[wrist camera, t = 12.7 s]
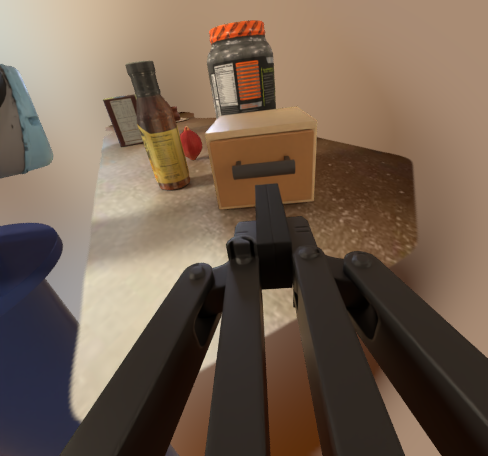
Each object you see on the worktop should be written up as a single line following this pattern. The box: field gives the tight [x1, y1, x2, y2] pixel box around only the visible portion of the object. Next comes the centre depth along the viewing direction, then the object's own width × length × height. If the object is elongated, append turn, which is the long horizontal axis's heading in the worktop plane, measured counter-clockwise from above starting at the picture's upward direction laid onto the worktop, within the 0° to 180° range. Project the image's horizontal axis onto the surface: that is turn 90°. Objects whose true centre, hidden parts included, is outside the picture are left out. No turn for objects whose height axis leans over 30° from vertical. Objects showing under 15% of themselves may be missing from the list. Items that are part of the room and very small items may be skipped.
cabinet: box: [205, 106, 317, 210], centre depth 39 cm, size 16×14×11 cm
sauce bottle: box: [126, 61, 190, 190], centre depth 41 cm, size 7×6×20 cm
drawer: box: [209, 129, 314, 207], centre depth 36 cm, size 19×13×9 cm, turn 178°
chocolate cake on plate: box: [171, 107, 188, 122], centre depth 133 cm, size 18×18×7 cm
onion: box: [180, 126, 202, 160], centre depth 59 cm, size 6×6×8 cm
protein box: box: [103, 95, 144, 147], centre depth 90 cm, size 10×15×16 cm
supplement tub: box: [207, 20, 276, 119], centre depth 60 cm, size 16×16×26 cm
